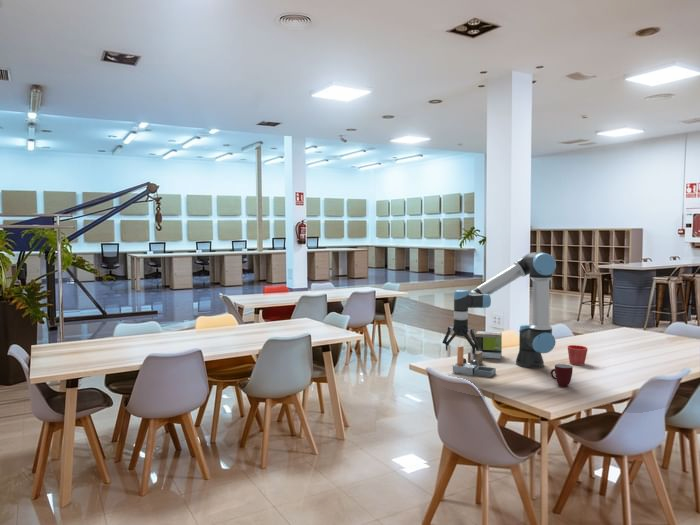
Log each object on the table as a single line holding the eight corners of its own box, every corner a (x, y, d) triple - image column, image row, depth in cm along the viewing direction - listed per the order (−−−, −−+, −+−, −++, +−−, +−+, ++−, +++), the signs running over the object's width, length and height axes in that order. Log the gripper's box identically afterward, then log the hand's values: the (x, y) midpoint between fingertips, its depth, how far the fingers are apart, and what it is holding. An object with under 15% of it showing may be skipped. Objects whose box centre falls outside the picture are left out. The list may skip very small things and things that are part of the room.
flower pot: (587, 362, 303) (587, 345, 303) (587, 366, 293) (587, 349, 293) (567, 360, 308) (567, 344, 307) (566, 364, 298) (567, 348, 297)
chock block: (482, 363, 302) (482, 351, 301) (478, 366, 295) (478, 353, 294) (472, 361, 305) (472, 350, 304) (467, 364, 298) (468, 352, 297)
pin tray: (495, 373, 278) (495, 368, 278) (491, 377, 270) (491, 371, 270) (479, 371, 283) (479, 365, 283) (474, 375, 275) (474, 369, 275)
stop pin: (463, 371, 282) (464, 346, 281) (462, 373, 279) (462, 347, 279) (458, 370, 284) (458, 345, 283) (456, 372, 281) (456, 346, 280)
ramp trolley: (479, 370, 286) (480, 359, 285) (472, 375, 274) (472, 364, 274) (460, 367, 291) (460, 356, 291) (452, 372, 280) (452, 361, 280)
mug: (546, 385, 257) (547, 365, 256) (553, 381, 263) (553, 362, 262) (568, 389, 250) (569, 368, 249) (574, 385, 256) (575, 365, 255)
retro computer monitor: (501, 355, 320) (502, 331, 319) (500, 359, 311) (501, 334, 310) (476, 353, 325) (477, 330, 324) (475, 357, 315) (475, 333, 315)
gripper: (485, 319, 277) (484, 359, 278) (441, 316, 289) (441, 354, 291) (481, 321, 271) (480, 362, 272) (436, 317, 283) (436, 356, 284)
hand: (460, 358), depth 281 cm, fingers open, 12 cm apart
